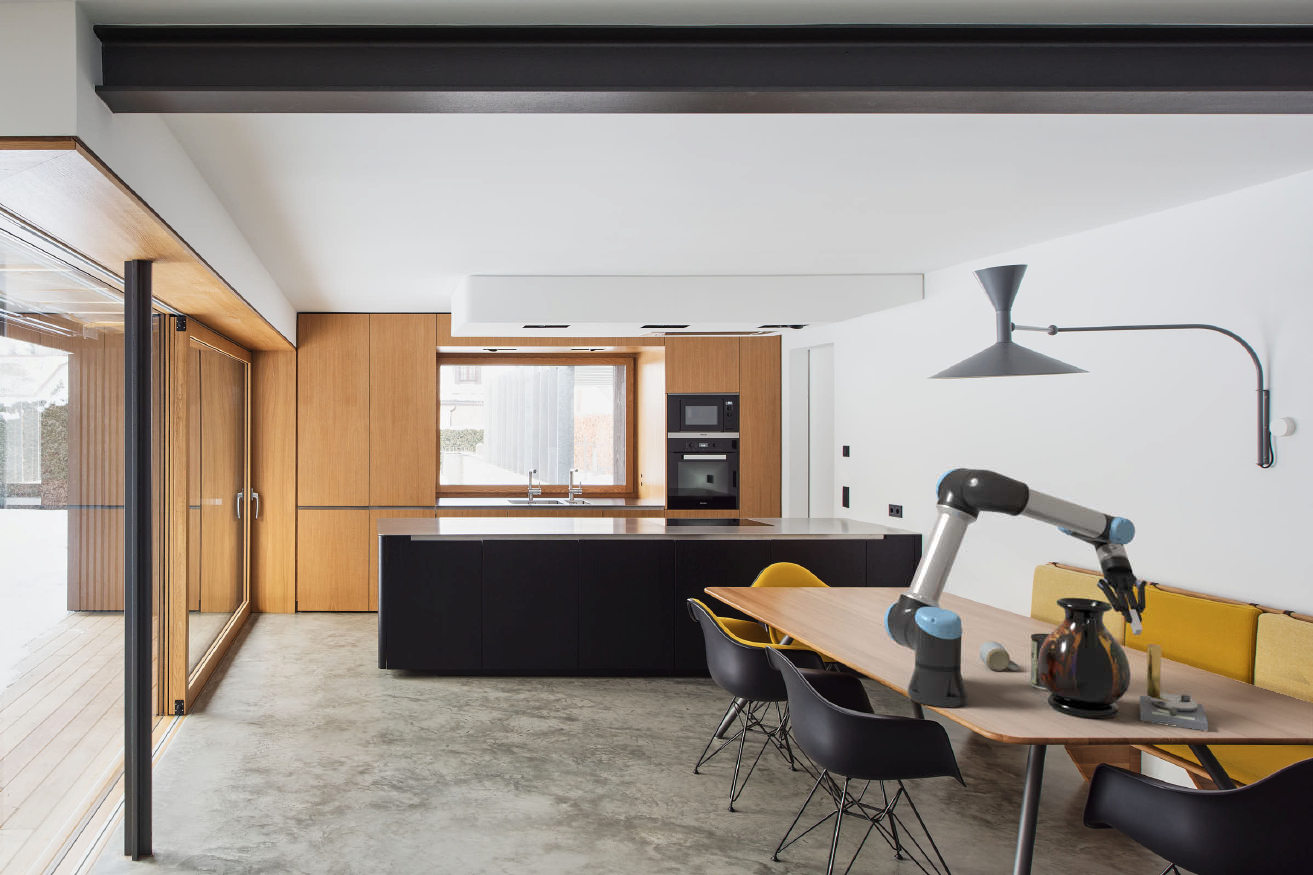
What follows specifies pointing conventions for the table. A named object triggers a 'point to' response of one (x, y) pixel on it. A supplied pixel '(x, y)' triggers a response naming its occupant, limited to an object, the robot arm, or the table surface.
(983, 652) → the ceramic mug
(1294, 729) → the table surface
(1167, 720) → the grey crank mechanism
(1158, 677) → the lever
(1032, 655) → the coffee can
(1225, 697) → the table surface
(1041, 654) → the brown glazed vase
